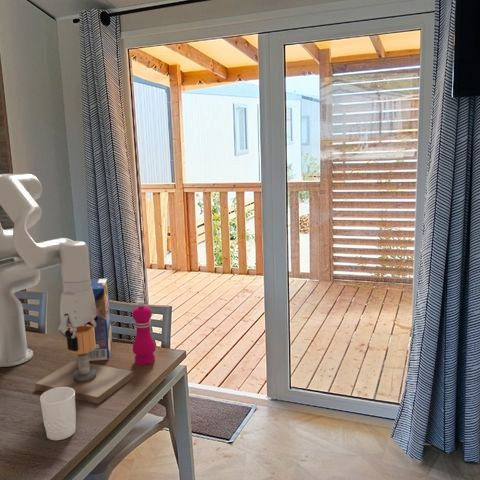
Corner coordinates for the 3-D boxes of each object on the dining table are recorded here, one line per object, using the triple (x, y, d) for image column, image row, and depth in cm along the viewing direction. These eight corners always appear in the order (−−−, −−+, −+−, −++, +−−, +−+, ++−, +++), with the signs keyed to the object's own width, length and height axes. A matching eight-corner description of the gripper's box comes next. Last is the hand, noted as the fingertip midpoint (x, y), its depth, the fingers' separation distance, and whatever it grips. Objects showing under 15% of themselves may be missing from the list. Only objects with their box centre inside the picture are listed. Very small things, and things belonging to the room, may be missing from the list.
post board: (35, 389, 139) (32, 360, 138) (74, 366, 154) (71, 339, 152) (98, 403, 131) (95, 372, 129) (132, 377, 146) (131, 349, 144)
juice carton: (109, 359, 158) (103, 288, 154) (85, 361, 157) (79, 289, 152) (112, 344, 170) (107, 278, 165) (90, 346, 169) (84, 279, 164)
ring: (64, 351, 138) (62, 331, 137) (81, 342, 145) (79, 323, 144) (84, 355, 136) (82, 335, 135) (100, 345, 142) (99, 326, 141)
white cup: (49, 424, 122) (45, 387, 120) (81, 422, 123) (78, 385, 121) (39, 443, 114) (35, 404, 112) (73, 441, 115) (70, 402, 113)
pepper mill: (151, 366, 152) (147, 305, 149) (129, 365, 154) (125, 304, 150) (159, 356, 159) (156, 298, 155) (138, 355, 161) (135, 297, 157)
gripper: (86, 276, 146) (91, 332, 149) (43, 293, 130) (50, 355, 134) (107, 278, 143) (111, 335, 146) (65, 295, 127) (71, 359, 131)
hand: (82, 344), depth 140 cm, fingers closed on ring, 7 cm apart
